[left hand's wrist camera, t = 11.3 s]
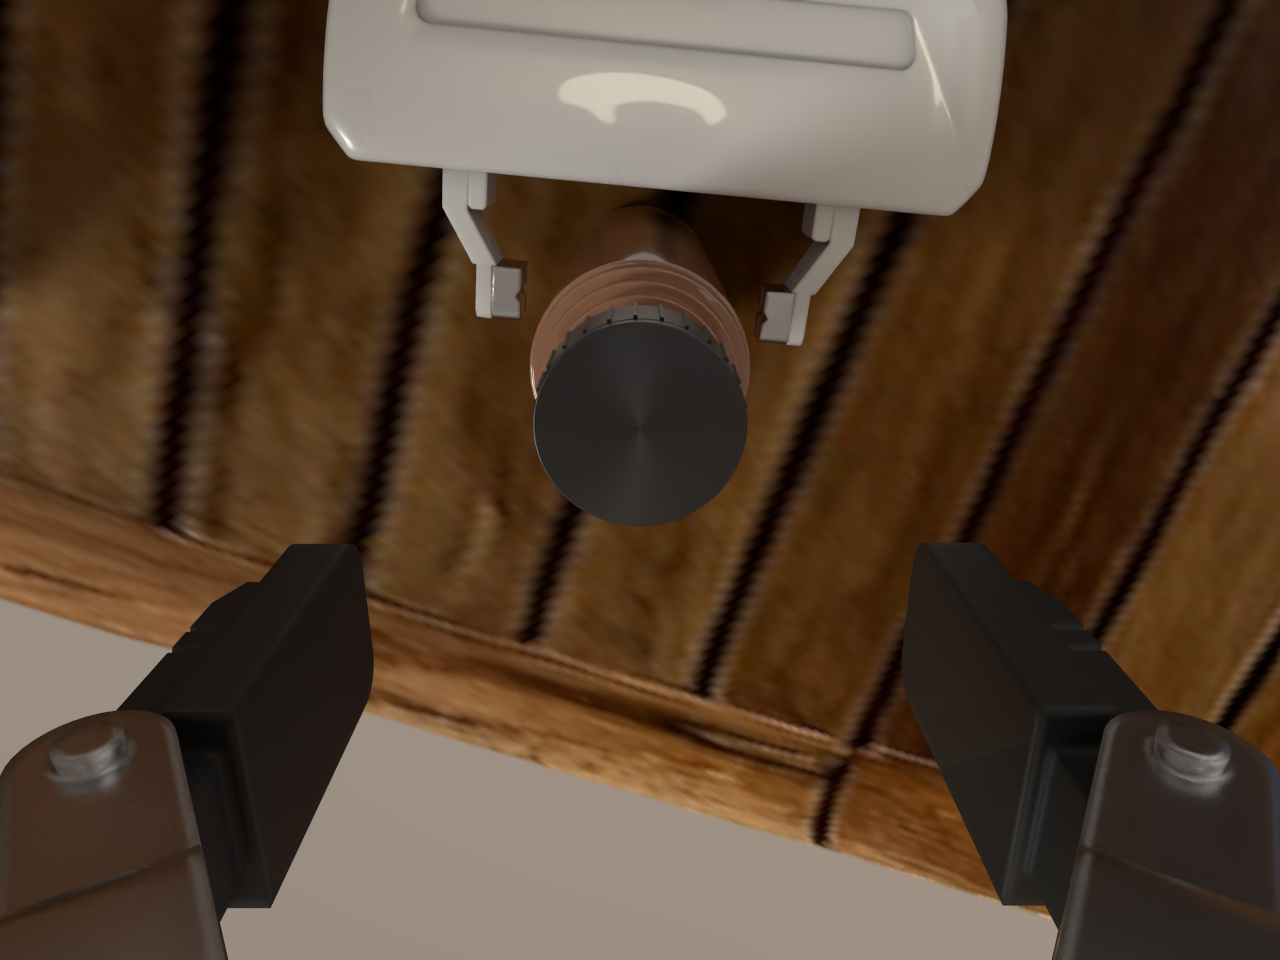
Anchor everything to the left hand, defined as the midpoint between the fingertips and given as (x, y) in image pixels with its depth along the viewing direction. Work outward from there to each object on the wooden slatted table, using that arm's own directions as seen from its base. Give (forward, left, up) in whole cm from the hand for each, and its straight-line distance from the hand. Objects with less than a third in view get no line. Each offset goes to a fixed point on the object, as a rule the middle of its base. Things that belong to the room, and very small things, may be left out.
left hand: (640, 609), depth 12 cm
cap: (0, 0, -8) cm, 8 cm away
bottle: (0, 0, -27) cm, 27 cm away
